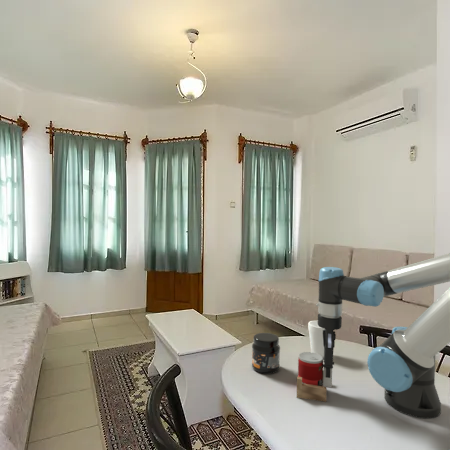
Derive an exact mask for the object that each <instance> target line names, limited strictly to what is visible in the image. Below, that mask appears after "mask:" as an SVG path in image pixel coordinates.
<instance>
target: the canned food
mask: <svg viewBox="0 0 450 450" xmlns="http://www.w3.org/2000/svg"><path fill="white" fill-rule="evenodd" d="M323 364H324V358H323V357H322V356H321V355H319V354H316V353H312V352H311V351H303V352H300V353H298V359H297V365H298V366H297V377H302V384H309V385H317V386H323V370H324V367H322V365H323Z"/></svg>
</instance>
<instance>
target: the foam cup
mask: <svg viewBox="0 0 450 450" xmlns="http://www.w3.org/2000/svg"><path fill="white" fill-rule="evenodd" d="M307 325H308V326H307V329H308V333H309V334H308V335H309V336H308V337H309V343H310V345H309V346H310V352H312V353H316V354H319V355H321V356H322V357H323V359H324V345H323V330H324V328H321V327H319V326H318V320H310V321H308V323H307Z"/></svg>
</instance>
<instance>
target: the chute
mask: <svg viewBox="0 0 450 450" xmlns="http://www.w3.org/2000/svg"><path fill="white" fill-rule="evenodd" d="M296 398H299V399H305V400H311V401H317V402H324V403H326V402H327V386H317V385H309V384H302V377H298V376H297V377H296Z"/></svg>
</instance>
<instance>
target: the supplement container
mask: <svg viewBox="0 0 450 450" xmlns="http://www.w3.org/2000/svg"><path fill="white" fill-rule="evenodd" d="M252 341H253V343H252V345H251V347H252V349H251V350H252V351H251V352H252V354H251V356H252V357H251V359H252V360H251V367H252V368H253V370H254V371H255V372H258V373H260V374H267V375H269V374H274V373H276V372H278V371H279V369H280V367H281V366H280V365H281V364H280V358H281V357H280V352H281V351H280V350H281V345H280V344H279V343H280V338H279V336H278V335H277V334H274V333H271V332H259V333H256V334H254V335H253V340H252Z"/></svg>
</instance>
